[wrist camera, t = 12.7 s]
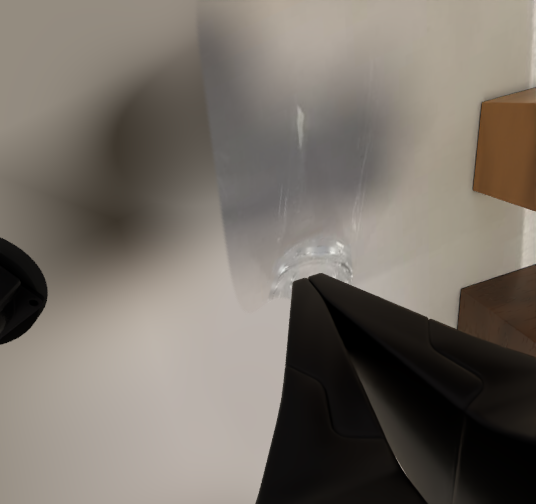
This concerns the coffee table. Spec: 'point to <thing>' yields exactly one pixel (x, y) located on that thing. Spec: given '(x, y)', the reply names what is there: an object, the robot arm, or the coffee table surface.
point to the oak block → (508, 149)
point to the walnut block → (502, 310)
